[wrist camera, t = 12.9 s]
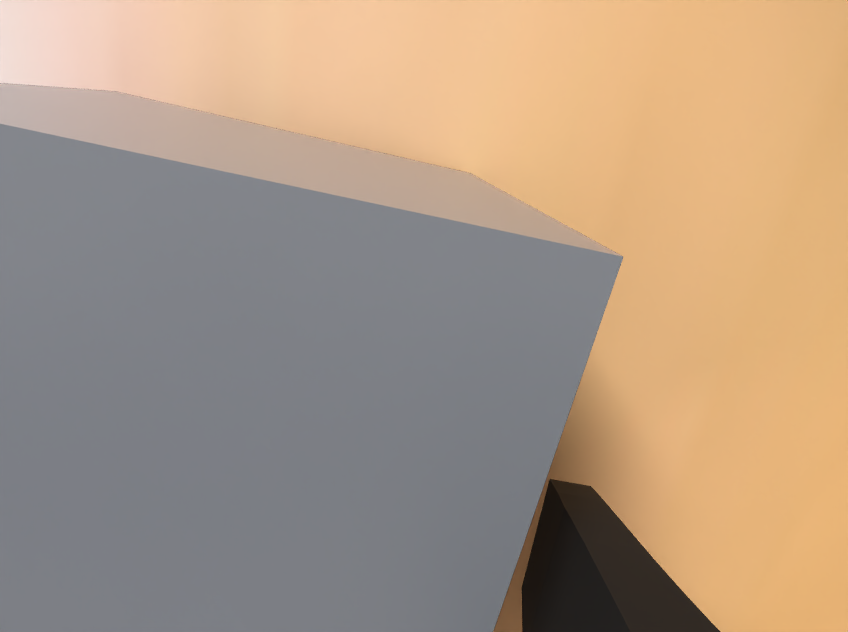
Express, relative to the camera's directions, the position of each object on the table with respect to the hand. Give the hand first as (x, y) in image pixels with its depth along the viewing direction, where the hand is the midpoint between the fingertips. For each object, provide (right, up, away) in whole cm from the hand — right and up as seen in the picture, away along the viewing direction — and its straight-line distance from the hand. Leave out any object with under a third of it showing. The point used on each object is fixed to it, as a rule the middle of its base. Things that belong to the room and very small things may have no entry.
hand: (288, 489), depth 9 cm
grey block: (-1, +1, +3) cm, 3 cm away
